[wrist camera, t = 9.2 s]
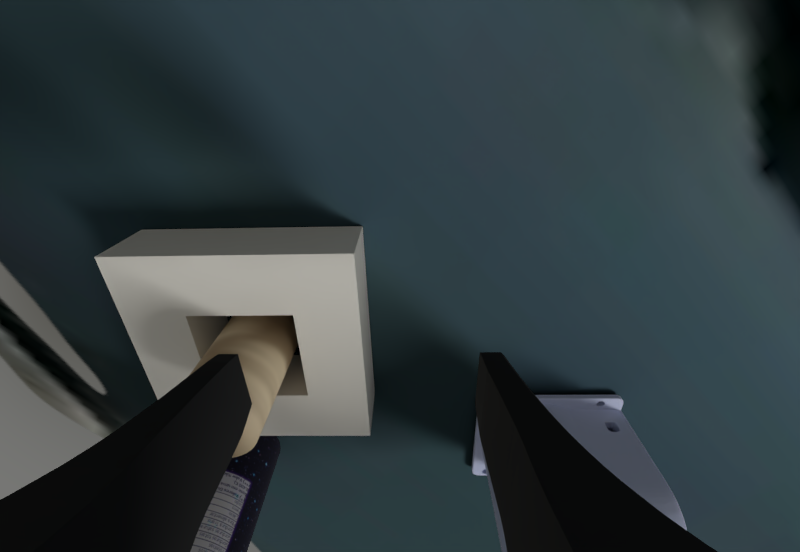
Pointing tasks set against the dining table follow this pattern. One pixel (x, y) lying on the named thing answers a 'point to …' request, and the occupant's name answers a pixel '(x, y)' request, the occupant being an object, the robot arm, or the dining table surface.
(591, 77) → the dining table surface
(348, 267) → the socket block
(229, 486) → the beverage can
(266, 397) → the beech peg
